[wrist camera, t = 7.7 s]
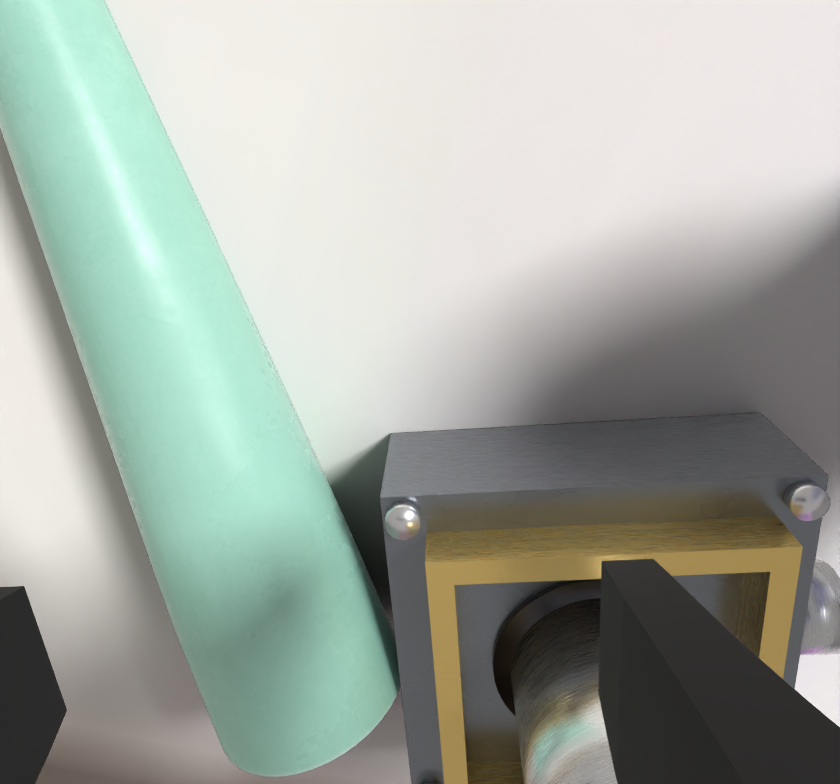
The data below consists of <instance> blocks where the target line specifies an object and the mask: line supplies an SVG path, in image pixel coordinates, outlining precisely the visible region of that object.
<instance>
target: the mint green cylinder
mask: <svg viewBox="0 0 840 784" xmlns="http://www.w3.org/2000/svg"><path fill="white" fill-rule="evenodd" d="M0 129H1V132H2V135H3V138H4V140H5V143H6V146H7V149H8V152H9V155H10V158H11V161H12V164H13V166H14V169H15V172H16V175H17V178H18V181H19V184H20V187H21V190H22V192H23V195H24V198H25V201H26V204H27V207H28V210H29V213H30V216H31V219H32V221H33V224H34V227H35V230H36V233H37V236H38V239H39V242H40V245H41V247H42V250H43V253H44V256H45V259H46V262H47V265H48V268H49V271H50V273H51V276H52V279H53V282H54V285H55V288H56V291H57V294H58V297H59V299H60V302H61V305H62V308H63V311H64V314H65V317H66V320H67V323H68V325H69V328H70V331H71V334H72V337H73V340H74V343H75V346H76V349H77V351H78V354H79V357H80V360H81V363H82V366H83V369H84V372H85V375H86V378H87V380H88V383H89V386H90V389H91V392H92V395H93V398H94V401H95V404H96V406H97V409H98V412H99V415H100V418H101V421H102V424H103V427H104V430H105V432H106V435H107V438H108V441H109V444H110V447H111V450H112V453H113V456H114V458H115V461H116V464H117V467H118V470H119V473H120V476H121V479H122V481H123V484H124V487H125V490H126V493H127V496H128V499H129V502H130V504H131V507H132V510H133V513H134V516H135V519H136V522H137V525H138V527H139V530H140V533H141V536H142V539H143V542H144V545H145V547H146V550H147V553H148V556H149V559H150V562H151V565H152V568H153V570H154V573H155V576H156V579H157V582H158V585H159V588H160V590H161V593H162V596H163V599H164V601H165V604H166V607H167V610H168V612H169V615H170V618H171V621H172V624H173V626H174V629H175V632H176V635H177V637H178V640H179V642H180V645H181V647H182V649H183V652H184V654H185V657H186V659H187V662H188V664H189V667H190V669H191V672H192V674H193V676H194V679H195V681H196V684H197V686H198V689H199V691H200V694H201V696H202V698H203V701H204V703H205V706H206V708H207V711H208V713H209V716H210V718H211V721H212V723H213V725H214V728H215V730H216V733H217V735H218V738H219V740H220V743H221V745H222V748H223V750H224V752H225V754H226V755H227V757H228V758H229V760H230V761H231V762H232V763H233V764H235V765H236V766H237V767H238V768H240V769H242V770H244V771H246V772H248V773H250V774H255V775H259V776H266V777H281V776H289V775H295V774H299V773H302V772H306V771H310V770H312V769H315V768H317V767H320V766H322V765H325V764H327V763H328V762H330V761H332V760H334V759H336V758H338V757H339V756H341V755H343V754H344V753H346V752H347V751H348V750H350V749H351V748H353V747H354V746H356V745H357V744H358V743H359V742H360V741H361V740H363V739H364V738H365V737H366V736H367V735H368V734H369V733H370V732H371V731H372V730H373V729H374V728H375V727H376V726H377V725H378V724H379V723H380V721H381V720H382V719H383V717H384V716H385V715H386V713H387V712H388V710H389V709H390V707H391V706H392V704H393V702H394V700H395V698H396V696H397V694H398V691H399V688H400V686H401V684H400V675H399V666H398V657H397V648H396V639H395V633H394V631H393V629H392V626H391V624H390V622H389V619H388V617H387V615H386V612H385V610H384V608H383V606H382V603H381V601H380V599H379V596H378V594H377V592H376V589H375V587H374V585H373V582H372V580H371V578H370V575H369V573H368V571H367V568H366V566H365V564H364V561H363V559H362V557H361V554H360V552H359V550H358V547H357V545H356V543H355V540H354V538H353V536H352V534H351V532H350V529H349V527H348V525H347V523H346V520H345V518H344V516H343V514H342V512H341V509H340V507H339V505H338V503H337V500H336V498H335V496H334V494H333V492H332V490H331V487H330V485H329V483H328V481H327V479H326V476H325V474H324V472H323V470H322V468H321V465H320V463H319V461H318V459H317V457H316V454H315V452H314V450H313V448H312V446H311V444H310V441H309V439H308V437H307V435H306V433H305V430H304V428H303V426H302V424H301V422H300V419H299V417H298V415H297V413H296V411H295V408H294V406H293V404H292V402H291V400H290V398H289V395H288V393H287V391H286V389H285V387H284V384H283V382H282V380H281V378H280V376H279V374H278V371H277V369H276V367H275V365H274V363H273V361H272V359H271V356H270V354H269V352H268V350H267V348H266V346H265V343H264V341H263V339H262V337H261V335H260V333H259V330H258V328H257V326H256V324H255V322H254V320H253V317H252V315H251V313H250V311H249V309H248V307H247V304H246V302H245V300H244V298H243V296H242V294H241V291H240V289H239V287H238V285H237V283H236V281H235V278H234V276H233V274H232V272H231V270H230V268H229V265H228V263H227V261H226V259H225V257H224V255H223V252H222V250H221V248H220V246H219V244H218V242H217V240H216V237H215V235H214V233H213V231H212V229H211V227H210V224H209V222H208V220H207V218H206V216H205V214H204V211H203V209H202V207H201V205H200V203H199V201H198V199H197V196H196V194H195V192H194V190H193V188H192V186H191V184H190V181H189V179H188V177H187V175H186V173H185V171H184V169H183V166H182V164H181V162H180V160H179V158H178V156H177V154H176V152H175V149H174V147H173V145H172V143H171V141H170V139H169V137H168V134H167V132H166V130H165V128H164V126H163V124H162V122H161V119H160V117H159V115H158V113H157V111H156V109H155V107H154V104H153V102H152V100H151V98H150V96H149V94H148V92H147V90H146V87H145V85H144V83H143V81H142V79H141V77H140V75H139V72H138V70H137V68H136V66H135V64H134V62H133V60H132V57H131V55H130V53H129V51H128V49H127V47H126V45H125V43H124V40H123V38H122V36H121V34H120V32H119V30H118V28H117V25H116V23H115V21H114V19H113V17H112V15H111V13H110V10H109V8H108V6H107V4H106V2H105V0H0Z"/></svg>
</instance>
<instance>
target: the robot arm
mask: <svg viewBox="0 0 840 784" xmlns="http://www.w3.org/2000/svg"><path fill="white" fill-rule="evenodd" d="M598 694H599V699H600V704H601V709H602V714H603V719H604V724H605V728H606V733H607V738H608V743H609V748H610V752H611V757H612V762H613V766H614V771H615V775H616V779H617V783H618V784H840V727H839V726H837V725H836V724H835V723H834V722H832V721H831V720H830V719H829V718H827V717H826V716H825V715H824V714H823V713H821V712H820V711H819V710H818V709H817V708H816V707H814V706H813V705H812V704H811V703H810V702H808V701H807V700H806V699H805V698H804V697H803V696H802V695H800V694H799V693H798V692H797V691H796V690H795V689H794V688H792V687H791V686H790V685H789V684H788V683H787V682H786V681H785V680H783V679H782V678H781V677H780V676H779V675H778V674H777V673H776V672H774V671H773V670H772V669H771V668H770V667H769V666H768V665H766V664H765V663H764V662H763V661H762V660H761V659H760V658H759V657H757V656H756V655H755V654H754V653H753V652H752V651H751V650H750V649H749V648H748V647H746V646H745V645H744V644H743V643H742V642H741V641H740V640H739V639H738V638H737V637H736V636H734V635H733V634H732V633H731V632H730V631H729V630H728V629H727V628H726V627H725V626H724V625H723V624H722V623H721V622H720V621H718V620H717V619H716V618H715V617H714V616H713V615H712V614H711V613H710V612H709V611H708V610H707V609H706V608H705V607H704V606H703V605H702V604H701V603H700V602H698V601H697V600H696V599H695V598H694V597H693V596H692V595H691V594H690V593H689V592H688V591H687V590H686V589H685V588H684V587H683V586H682V585H681V584H680V583H679V582H678V581H677V580H676V579H674V578H673V577H672V576H671V575H670V574H669V573H668V572H667V571H666V570H665V569H664V568H663V567H662V566H661V565H660V564H658V563H657V562H656V561H655V560H654V559H635V560H612V561H602V563H601V603H600V643H599V683H598ZM66 711H67V709H66V706H65V703H64V700H63V697H62V695H61V692H60V689H59V686H58V683H57V680H56V677H55V674H54V671H53V669H52V666H51V663H50V660H49V657H48V654H47V651H46V648H45V645H44V643H43V640H42V637H41V634H40V631H39V628H38V625H37V622H36V619H35V617H34V614H33V611H32V608H31V605H30V602H29V599H28V596H27V593H26V591H25V588H24V586H18V587H0V784H35V782H36V780H37V778H38V776H39V774H40V771H41V769H42V767H43V765H44V763H45V761H46V759H47V756H48V754H49V752H50V749H51V747H52V745H53V742H54V740H55V737H56V735H57V733H58V730H59V728H60V725H61V723H62V721H63V718H64V716H65V713H66Z"/></svg>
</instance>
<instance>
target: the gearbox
mask: <svg viewBox="0 0 840 784" xmlns="http://www.w3.org/2000/svg"><path fill="white" fill-rule="evenodd" d="M828 476H829V475H828V474H827V473H826V472H824V471H823V470H822V469H821V468H820V467H819V466H818V465H817V464H816V463H815V462H814V461H812V460H811V459H810V458H809V457H808V456H807V455H806V454H805V453H804V452H803V451H802V450H800V449H799V448H798V447H797V446H796V445H795V444H794V443H793V442H792V441H791V440H790V439H788V438H787V437H786V436H785V435H784V434H783V433H782V432H781V431H780V430H779V429H778V428H776V427H775V426H774V425H773V424H772V423H771V422H770V421H769V420H768V419H767V418H765V417H764V416H763V415H762V414H761V413H749V414H730V415H712V416H694V417H676V418H658V419H640V420H622V421H604V422H586V423H568V424H550V425H532V426H514V427H496V428H478V429H459V430H441V431H423V432H405V433H391V435H390V441H389V447H388V453H387V459H386V464H385V470H384V476H383V482H382V488H381V494H380V503H381V512H382V521H383V530H384V539H385V549H386V558H387V567H388V576H389V585H390V594H391V603H392V612H393V621H394V630H395V639H396V648H397V657H398V666H399V675H400V684H401V693H402V702H403V711H404V720H405V729H406V738H407V747H408V756H409V765H410V774H411V783H412V784H524V778H523V769H522V761H521V753H520V745H519V737H518V729H517V721H516V713H515V705H514V697H513V688H512V680H511V664H512V658H513V655H514V652H515V649H516V647H517V645H518V643H519V641H520V640H521V638H522V637H523V635H524V634H525V633H526V632H527V631H528V629H529V628H530V627H531V626H532V625H533V624H535V623H536V622H537V621H538V620H539V619H541V618H542V617H544V616H545V615H547V614H548V613H550V612H552V611H554V610H556V609H558V608H560V607H562V606H565V605H567V604H570V603H574V602H578V601H581V600H587V599H594V598H601V563H602V561H612V560H635V559H654V560H655V561H656V562H657V563H658V564H660V565H661V566H662V567H663V568H664V569H665V570H666V571H667V572H668V573H669V574H670V575H671V576H672V577H673V578H674V579H676V580H677V581H678V582H679V583H680V584H681V585H682V586H683V587H684V588H685V589H686V590H687V591H688V592H689V593H690V594H691V595H692V596H693V597H694V598H695V599H696V600H697V601H698V602H700V603H701V604H702V605H703V606H704V607H705V608H706V609H707V610H708V611H709V612H710V613H711V614H712V615H713V616H714V617H715V618H716V619H717V620H718V621H720V622H721V623H722V624H723V625H724V626H725V627H726V628H727V629H728V630H729V631H730V632H731V633H732V634H733V635H734V636H736V637H737V638H738V639H739V640H740V641H741V642H742V643H743V644H744V645H745V646H746V647H748V648H749V649H750V650H751V651H752V652H753V653H754V654H755V655H756V656H757V657H759V658H760V659H761V660H762V661H763V662H764V663H765V664H766V665H768V666H769V667H770V668H771V669H772V670H773V671H774V672H776V673H777V674H778V675H779V676H780V677H781V678H782V679H783V680H785V681H786V682H787V683H788V684H789V685H790V686H791V687H792V688H795V682H796V676H797V669H798V663H799V657H800V655H814V654H839V653H840V578H839V577H838V575H837V573H836V572H835V571H834V570H833V568H832V567H831V566H830V565H828V564H827V563H825V562H824V561H820V560H815V557H816V551H817V544H818V538H819V532H820V526H821V519H822V516H823V515H824V514H825V513H826V512H827V511H828V509H829V507H830V498H829V496H828V495H827V493H826V488H827V482H828Z"/></svg>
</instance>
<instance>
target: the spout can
mask: <svg viewBox="0 0 840 784" xmlns="http://www.w3.org/2000/svg"><path fill="white" fill-rule="evenodd" d="M600 603H601V598H594V599H587V600H581V601H578V602H574V603H570V604H567V605H565V606H562V607H560V608H558V609H556V610H554V611H552V612H550V613H548V614H547V615H545V616H544V617H542V618H541V619H539V620H538V621H537V622H536V623H535V624H533V625H532V626H531V627H530V628H529V629H528V631H527V632H526V633H525V634H524V635H523V637H522V638H521V640H520V641H519V643H518V645H517V647H516V649H515V652H514V655H513V658H512V664H511V680H512V688H513V697H514V705H515V713H516V721H517V729H518V737H519V745H520V753H521V761H522V769H523V778H524V784H618V783H617V779H616V775H615V771H614V766H613V762H612V757H611V752H610V748H609V743H608V738H607V733H606V728H605V724H604V719H603V714H602V709H601V704H600V699H599V694H598V683H599V643H600Z"/></svg>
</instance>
